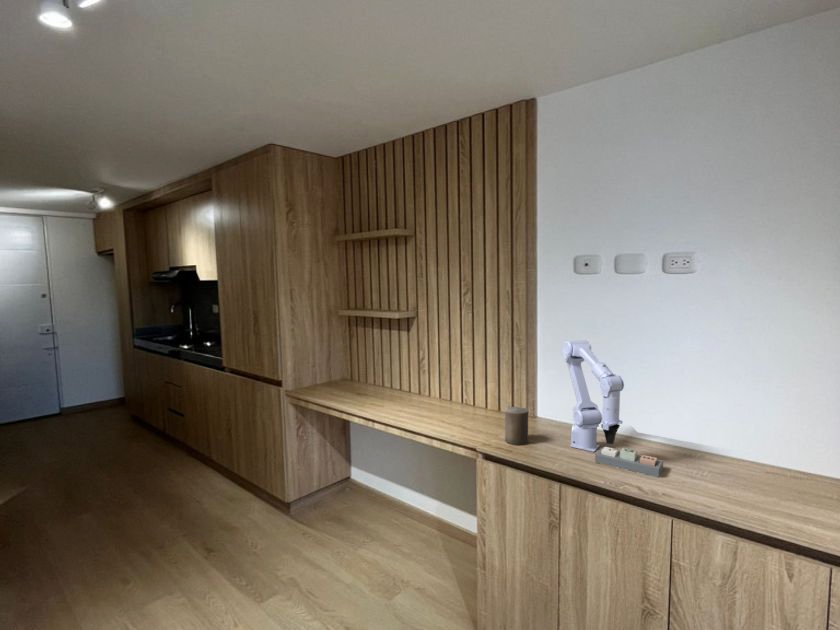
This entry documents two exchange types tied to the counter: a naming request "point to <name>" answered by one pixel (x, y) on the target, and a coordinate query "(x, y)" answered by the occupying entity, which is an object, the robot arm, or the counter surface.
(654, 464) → the three-pip tile
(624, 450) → the tile
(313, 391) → the counter surface
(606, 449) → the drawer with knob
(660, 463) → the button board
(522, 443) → the pillar candle
